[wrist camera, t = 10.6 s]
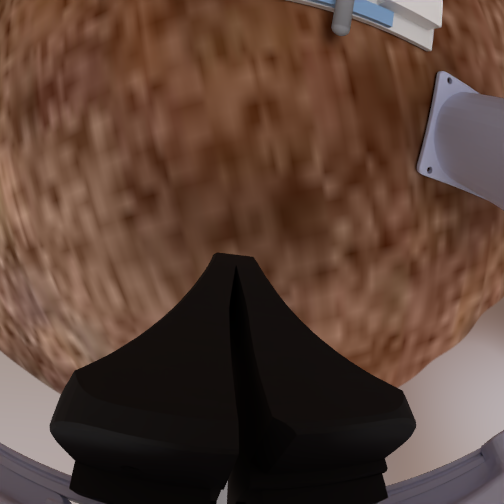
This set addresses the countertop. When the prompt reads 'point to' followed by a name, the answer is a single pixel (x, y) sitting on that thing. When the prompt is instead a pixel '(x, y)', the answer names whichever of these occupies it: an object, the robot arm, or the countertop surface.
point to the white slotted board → (395, 17)
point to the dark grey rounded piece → (342, 17)
